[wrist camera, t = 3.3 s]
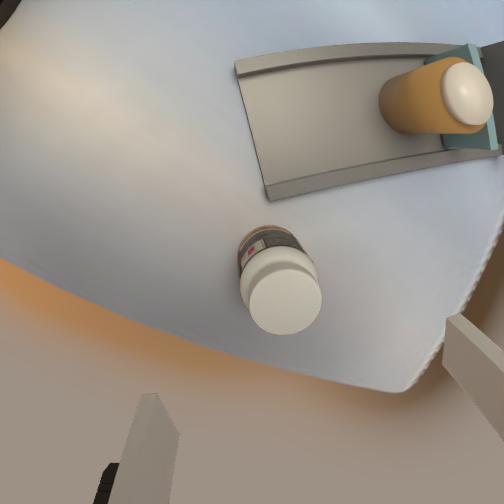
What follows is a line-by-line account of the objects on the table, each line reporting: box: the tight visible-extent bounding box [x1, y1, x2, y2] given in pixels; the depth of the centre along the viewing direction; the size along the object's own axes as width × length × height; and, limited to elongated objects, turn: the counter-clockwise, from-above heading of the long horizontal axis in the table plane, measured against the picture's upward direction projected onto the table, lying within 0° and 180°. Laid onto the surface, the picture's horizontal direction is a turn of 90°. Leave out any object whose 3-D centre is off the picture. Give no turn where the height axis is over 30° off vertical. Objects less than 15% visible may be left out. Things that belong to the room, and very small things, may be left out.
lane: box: [234, 41, 504, 201], centre depth 23 cm, size 27×12×6 cm, turn 104°
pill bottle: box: [238, 226, 322, 335], centre depth 25 cm, size 6×6×10 cm
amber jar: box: [379, 57, 493, 134], centre depth 20 cm, size 6×6×10 cm
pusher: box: [425, 44, 498, 150], centre depth 21 cm, size 4×9×7 cm, turn 14°
